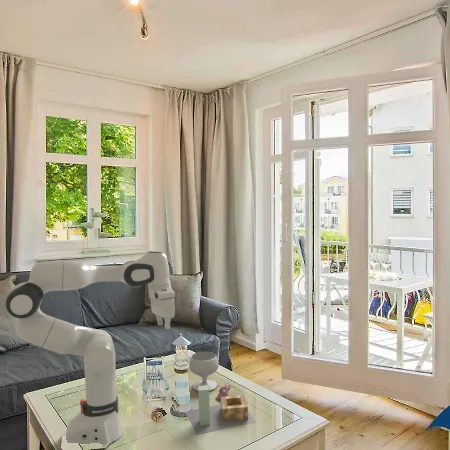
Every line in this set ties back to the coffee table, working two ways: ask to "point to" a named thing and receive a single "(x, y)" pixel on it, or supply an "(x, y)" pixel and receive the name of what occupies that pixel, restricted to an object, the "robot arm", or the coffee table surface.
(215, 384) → the chalice
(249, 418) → the base board
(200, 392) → the bracket bar
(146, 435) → the coffee table surface
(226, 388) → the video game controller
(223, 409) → the square hole block
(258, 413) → the coffee table surface
